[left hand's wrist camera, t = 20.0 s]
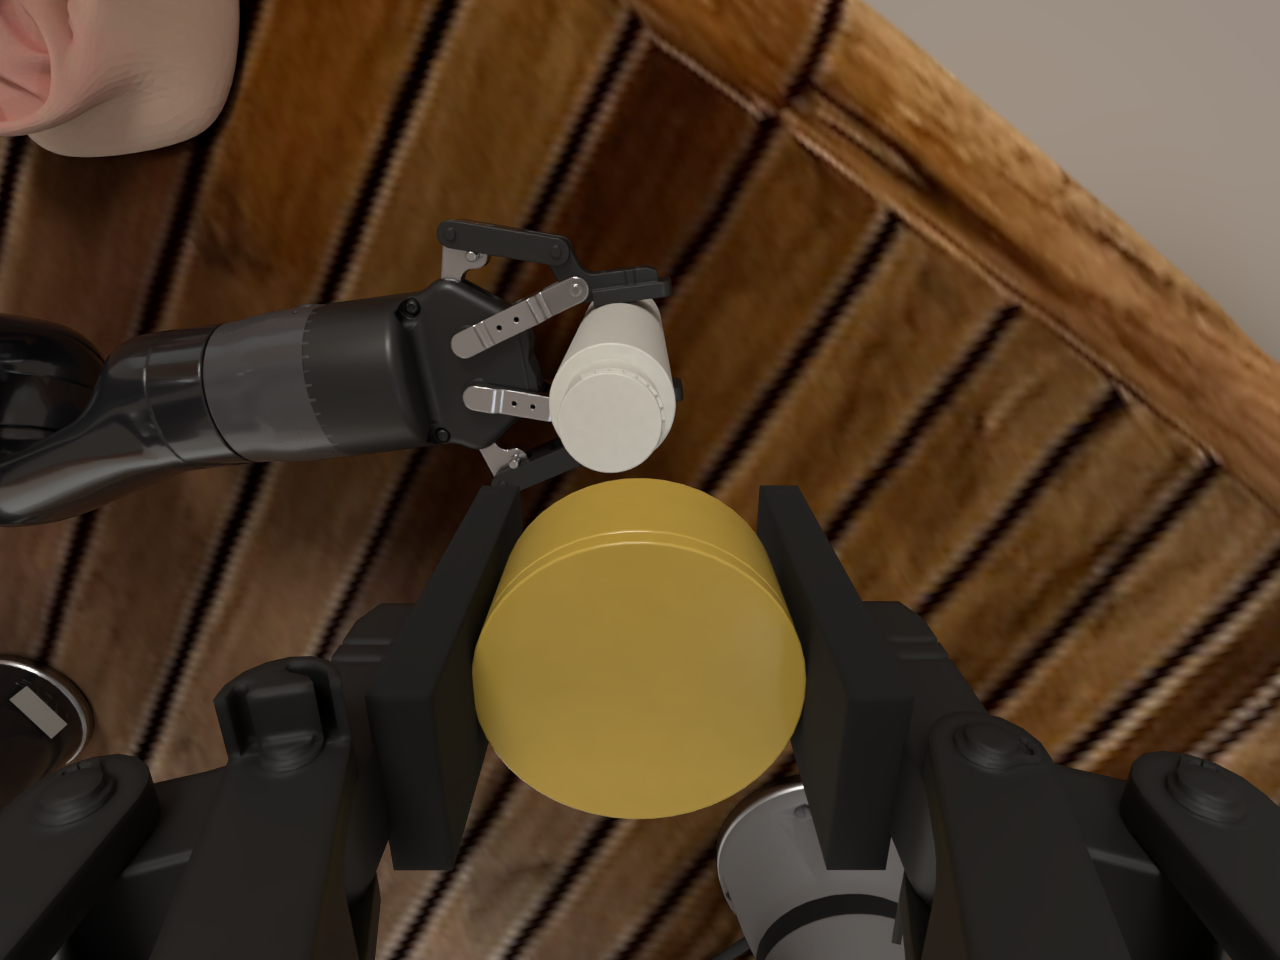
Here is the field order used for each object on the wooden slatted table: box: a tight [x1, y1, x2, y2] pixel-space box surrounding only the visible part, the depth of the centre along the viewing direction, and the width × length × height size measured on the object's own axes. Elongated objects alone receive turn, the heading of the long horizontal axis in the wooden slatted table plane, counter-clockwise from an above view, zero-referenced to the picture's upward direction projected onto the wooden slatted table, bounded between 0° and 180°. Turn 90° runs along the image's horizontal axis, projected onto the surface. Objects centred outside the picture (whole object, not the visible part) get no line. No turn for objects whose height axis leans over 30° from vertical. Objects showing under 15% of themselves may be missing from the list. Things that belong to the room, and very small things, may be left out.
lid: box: [472, 478, 806, 819], centre depth 11 cm, size 5×5×2 cm
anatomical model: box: [0, 0, 240, 157], centre depth 34 cm, size 13×4×12 cm
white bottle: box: [549, 299, 676, 473], centre depth 32 cm, size 4×4×20 cm
